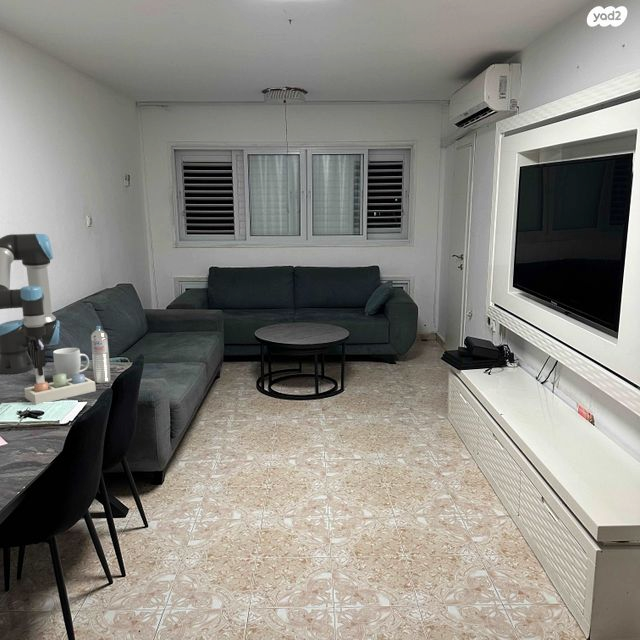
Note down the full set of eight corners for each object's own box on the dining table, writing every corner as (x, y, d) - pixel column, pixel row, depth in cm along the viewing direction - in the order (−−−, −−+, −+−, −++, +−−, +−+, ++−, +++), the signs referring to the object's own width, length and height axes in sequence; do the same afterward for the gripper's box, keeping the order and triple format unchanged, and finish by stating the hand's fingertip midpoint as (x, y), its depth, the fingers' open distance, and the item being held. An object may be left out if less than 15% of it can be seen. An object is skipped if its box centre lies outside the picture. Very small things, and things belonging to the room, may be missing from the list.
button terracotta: (33, 395, 233) (31, 383, 232) (46, 392, 236) (44, 380, 235) (37, 397, 229) (36, 385, 228) (50, 395, 233) (49, 383, 232)
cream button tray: (25, 397, 234) (24, 388, 233) (83, 384, 251) (83, 376, 250) (35, 404, 226) (34, 395, 225) (95, 391, 242) (95, 381, 241)
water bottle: (114, 379, 258) (109, 325, 253) (104, 384, 251) (100, 328, 246) (100, 378, 260) (96, 324, 255) (91, 383, 253) (86, 327, 248)
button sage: (51, 386, 238) (50, 375, 237) (64, 384, 241) (63, 372, 240) (56, 389, 234) (55, 377, 233) (69, 386, 237) (67, 375, 237)
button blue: (70, 387, 243) (69, 375, 242) (82, 384, 247) (81, 373, 246) (75, 389, 240) (74, 378, 239) (87, 386, 243) (86, 375, 242)
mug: (86, 372, 270) (84, 345, 267) (94, 377, 262) (91, 349, 259) (52, 378, 261) (49, 350, 258) (59, 383, 252) (56, 354, 250)
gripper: (18, 324, 229) (25, 381, 234) (30, 329, 220) (36, 388, 224) (38, 321, 234) (44, 377, 239) (50, 326, 225) (56, 384, 230)
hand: (40, 382), depth 232 cm, fingers closed
